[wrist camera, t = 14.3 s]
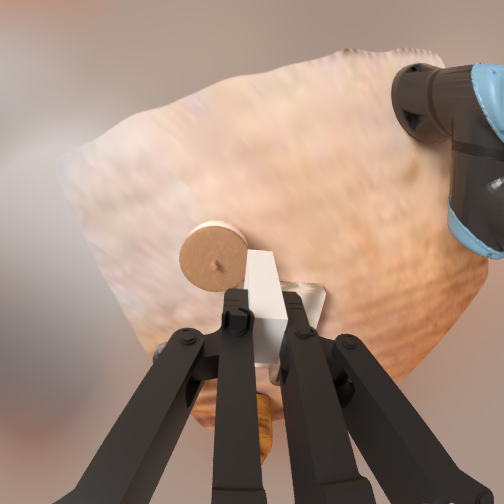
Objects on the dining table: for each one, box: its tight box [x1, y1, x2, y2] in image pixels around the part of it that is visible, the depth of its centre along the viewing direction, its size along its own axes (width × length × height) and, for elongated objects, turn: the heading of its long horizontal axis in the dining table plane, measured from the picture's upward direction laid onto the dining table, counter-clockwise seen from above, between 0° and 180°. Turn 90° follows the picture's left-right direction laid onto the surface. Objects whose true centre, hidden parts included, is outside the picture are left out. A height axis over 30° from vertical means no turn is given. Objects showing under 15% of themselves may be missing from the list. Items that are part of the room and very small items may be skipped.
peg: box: [268, 358, 280, 386], centre depth 50 cm, size 4×4×15 cm
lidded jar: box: [179, 220, 249, 292], centre depth 44 cm, size 11×11×9 cm
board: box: [237, 279, 326, 367], centre depth 55 cm, size 16×20×4 cm
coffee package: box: [257, 394, 272, 465], centre depth 58 cm, size 10×12×22 cm
